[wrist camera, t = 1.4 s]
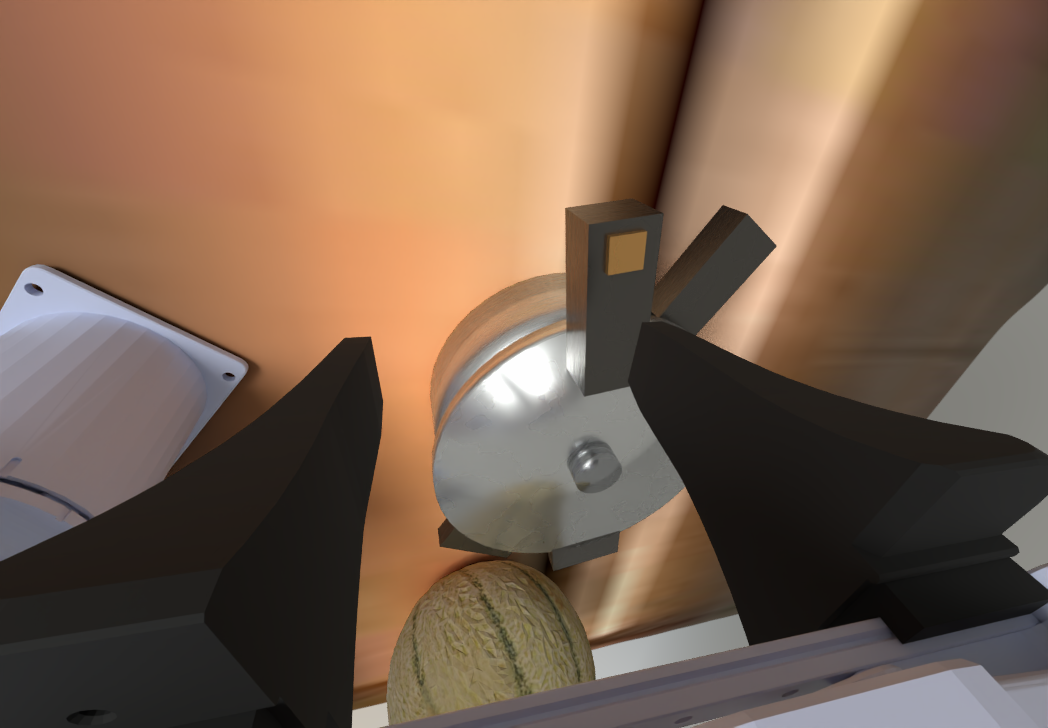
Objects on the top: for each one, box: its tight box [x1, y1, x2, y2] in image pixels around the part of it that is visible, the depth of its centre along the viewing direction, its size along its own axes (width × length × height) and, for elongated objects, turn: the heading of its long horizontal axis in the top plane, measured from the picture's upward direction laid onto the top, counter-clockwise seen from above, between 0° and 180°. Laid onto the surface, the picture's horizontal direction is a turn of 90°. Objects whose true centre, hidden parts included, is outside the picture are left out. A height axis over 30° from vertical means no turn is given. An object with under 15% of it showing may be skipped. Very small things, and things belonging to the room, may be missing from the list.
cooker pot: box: [430, 205, 776, 558], centre depth 24 cm, size 24×15×5 cm, turn 144°
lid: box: [432, 199, 686, 571], centre depth 20 cm, size 22×16×3 cm
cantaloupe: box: [386, 560, 595, 726], centre depth 30 cm, size 15×15×15 cm
